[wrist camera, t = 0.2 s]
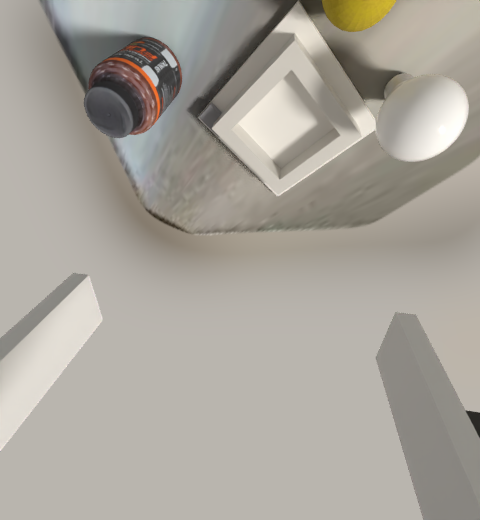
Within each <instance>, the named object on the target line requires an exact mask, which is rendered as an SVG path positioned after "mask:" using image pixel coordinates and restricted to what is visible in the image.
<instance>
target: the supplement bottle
mask: <svg viewBox="0 0 480 520" xmlns="http://www.w3.org/2000/svg"><path fill="white" fill-rule="evenodd" d="M181 83H182V73H181V68H180V65H179V62H178V60H177V58H176V56H175V55H174V53H173V52H172V51H171V50H170V48H169V47H168V46H167V45H165V44H164V43H162V42H161V41H159V40H156V39H154V38H141V39H138V40H136V41H134V42H132V43H131V44H129V45H128V46H126V47H125V48H123V49H122V50H120V51H118V52H117V53H115V54H113V55H112V56H110V57H109V58H107V59H105V60H104V61H102V62H101V63H100V64H98V65H97V66H96V67H95V68H94V69H93V71H92V73H91V75H90V79H89V90H88V92H87V93H86V95H85V98H84V107H85V110H86V113H87V116H88V117H89V119H90V121H91V122H92V123H93V125H94V126H95V127H96V128H97V129H98V130H100V131H101V132H102V133H104V134H106V135H108V136H110V137H114V138H122V137H125V136H127V135H129V134H131V135H137V134H141V133H144V132H146V131H147V130H148V129H150V128H151V127H152V126H153V125H154V123H155V122H156V121H157V120H158V118H159V117H160V116H161V115H162V113H163V112H164V111H165V110H166V108H167V107H168V106H169V105H170V103H171V102H172V101H173V100H174V98H175V97H176V96H177V94H178V93H179V90H180V88H181Z"/></svg>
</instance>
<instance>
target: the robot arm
mask: <svg viewBox="0 0 480 520" xmlns="http://www.w3.org/2000/svg"><path fill="white" fill-rule="evenodd" d="M102 320H103V318H102V315H101V312H100V308H99V305H98V302H97V299H96V296H95V293H94V290H93V287H92V284H91V280H90V277H89V275H85V274H76V273H73V274H72V275H71V276H69V277H68V278H67V279H66V280H65V281H64V282H63V283H62V284H61V285H59V286H58V287H57V288H56V289H55V290H54V291H53V292H52V293H50V294H49V295H48V296H47V297H46V298H45V299H44V300H43V301H42V302H41V303H39V304H38V305H37V306H36V307H35V308H34V309H33V310H31V311H30V312H29V313H28V314H27V315H26V316H25V317H24V318H23V319H22V320H20V321H19V322H18V323H17V324H16V325H15V326H14V327H12V328H11V329H10V330H9V331H8V332H7V333H6V334H5V335H4V336H2V337H1V338H0V451H1V450H2V449H3V447H4V446H5V445H6V443H7V442H8V441H9V439H10V438H11V437H12V436H13V434H14V433H15V432H16V430H17V429H18V428H19V427H20V425H21V424H22V423H23V422H24V420H25V419H26V418H27V416H28V415H29V414H30V413H31V411H32V410H33V409H34V407H35V406H36V405H37V404H38V402H39V401H40V400H41V398H42V397H43V396H44V395H45V393H46V392H47V391H48V390H49V388H50V387H51V386H52V384H53V383H54V382H55V381H56V379H57V378H58V377H59V375H60V374H61V373H62V372H63V370H64V369H65V368H66V366H67V365H68V364H69V363H70V361H71V360H72V359H73V357H74V356H75V355H76V354H77V352H78V351H79V350H80V348H81V347H82V346H83V345H84V343H85V342H86V341H87V340H88V338H89V337H90V336H91V334H92V333H93V332H94V330H95V329H96V328H97V327H98V325H99V324H100V323H101V322H102ZM376 360H377V363H378V367H379V370H380V374H381V377H382V380H383V384H384V387H385V390H386V394H387V397H388V401H389V404H390V408H391V411H392V415H393V418H394V421H395V425H396V428H397V431H398V435H399V438H400V441H401V445H402V448H403V452H404V455H405V459H406V462H407V465H408V469H409V472H410V476H411V479H412V482H413V486H414V489H415V493H416V496H417V499H418V503H419V506H420V509H421V513H422V516H423V520H480V413H478V412H472V411H465V409H464V407H463V405H462V403H461V402H460V399H459V397H458V395H457V393H456V391H455V389H454V388H453V386H452V384H451V382H450V380H449V378H448V376H447V374H446V372H445V370H444V368H443V366H442V364H441V363H440V360H439V359H438V357H437V355H436V353H435V351H434V349H433V347H432V345H431V343H430V341H429V339H428V337H427V335H426V333H425V331H424V330H423V328H422V326H421V324H420V322H419V320H418V318H417V316H416V315H414V314H406V313H397V312H396V313H395V315H394V317H393V319H392V321H391V324H390V326H389V328H388V331H387V333H386V335H385V338H384V340H383V342H382V344H381V347H380V349H379V351H378V354H377V356H376Z"/></svg>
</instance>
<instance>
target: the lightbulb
mask: <svg viewBox="0 0 480 520" xmlns="http://www.w3.org/2000/svg"><path fill="white" fill-rule="evenodd" d="M384 97H385V99H386V100H385V101H384V102H383V104H382V106H381V108H380V110H379V112H378V115H377V119H376V137H377V140H378V143H379V145H380V146H381V148H382V149H383V150H384V151H385V152H386V153H387V154H388V155H389V156H391V157H393V158H395V159H397V160H400V161H406V162H417V161H423V160H426V159H429V158H432V157H434V156H436V155H438V154H440V153H441V152H443V151H444V150H446V149H447V148H448V147H449V146H451V145H452V144H453V143H454V141H455V140H456V139H457V138H458V137H459V135H460V134H461V132H462V130H463V128H464V126H465V124H466V121H467V117H468V111H469V105H468V98H467V95H466V93H465V91H464V89H463V88H462V86H461V85H460V84H459V83H458V82H456V81H455V80H454V79H452V78H450V77H447V76H444V75H440V74H426V75H421V76H417V77H414V78H413V77H412V76H411V75H410V74H406V73H403V74H399V75H396V76H395V77H393V78H392V79H391V80H390V81H389V82H388V83H387V85H386V87H385V90H384Z"/></svg>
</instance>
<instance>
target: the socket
mask: <svg viewBox="0 0 480 520" xmlns="http://www.w3.org/2000/svg"><path fill="white" fill-rule="evenodd" d="M198 119H199V120H200V121H201V122H202V123H203V124H204V125H205V126H206V127H207V128H208V129H210V130H211V131H212V132H213V133H214V134H215V135H216V136H217V137H218V138H219V139H220V140H221V141H222V142H223V143H224V144H225V145H226V146H227V147H228V148H229V149H230V150H231V151H232V152H233V153H234V154H235V155H236V156H237V157H238V158H239V159H240V160H241V161H242V162H243V163H244V164H245V165H246V166H247V167H248V168H249V169H250V170H251V171H252V172H253V173H254V174H255V175H256V176H257V177H258V178H259V179H260V180H261V181H262V182H263V183H264V184H265V185H266V186H267V187H268V188H269V189H270V190H271V191H272V192H274V193H275V194H276V195H277V196H279V195H281V194H282V193H284V192H285V191H287V190H288V189H290V188H291V187H292V186H294V185H295V184H297V183H298V182H300V181H301V180H303V179H304V178H306V177H307V176H309V175H310V174H311V173H313V172H314V171H316V170H317V169H319V168H320V167H322V166H323V165H325V164H326V163H327V162H329V161H330V160H332V159H333V158H335V157H336V156H338V155H339V154H341V153H342V152H343V151H345V150H346V149H348V148H349V147H351V146H352V145H354V144H355V143H357V142H358V141H359V140H361V139H362V138H364V137H365V136H367V135H368V134H370V133H371V132H373V131H374V130H375V129H376V119H375V118H374V116H373V115H372V113H371V111H370V110H369V108H368V107H367V105H366V104H365V102H364V101H363V99H362V97H361V96H360V94H359V93H358V91H357V90H356V88H355V87H354V85H353V83H352V82H351V80H350V79H349V77H348V76H347V74H346V73H345V71H344V69H343V68H342V66H341V65H340V63H339V62H338V60H337V59H336V57H335V55H334V54H333V52H332V51H331V49H330V48H329V46H328V45H327V43H326V42H325V40H324V38H323V37H322V35H321V34H320V32H319V31H318V29H317V28H316V26H315V24H314V23H313V21H312V20H311V18H310V17H309V15H308V14H307V12H306V10H305V9H304V7H303V6H302V4H301V3H300V1H299V0H298V1H297V2H296V3H295V5H294V6H293V7H292V8H291V9H290V10H289V11H288V13H287V14H286V15H285V16H284V17H283V18H282V20H281V21H280V22H279V23H278V24H277V25H276V27H275V28H274V29H273V30H272V31H271V32H270V33H269V35H268V36H267V37H266V38H265V39H264V40H263V42H262V43H261V44H260V45H259V46H258V47H257V48H256V50H255V51H254V52H253V53H252V54H251V55H250V57H249V58H248V59H247V60H246V61H245V62H244V64H243V65H242V66H241V67H240V68H239V69H238V70H237V72H236V73H235V74H234V75H233V76H232V77H231V79H230V80H229V81H228V82H227V83H226V84H225V85H224V87H223V88H222V89H221V90H220V91H219V92H218V94H217V95H216V96H215V97H214V98H213V99H212V101H211V102H210V103H209V104H208V105H207V106H206V107H205V109H204V110H203V111H202V112H201V113H200V115H199V116H198Z"/></svg>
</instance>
